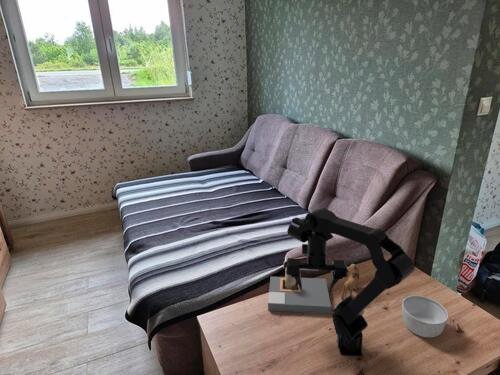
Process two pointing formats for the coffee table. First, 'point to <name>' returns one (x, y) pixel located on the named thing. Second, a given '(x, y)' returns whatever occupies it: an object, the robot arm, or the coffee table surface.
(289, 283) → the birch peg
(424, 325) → the ramekin
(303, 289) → the gray peg hole board
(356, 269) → the lion figurine
